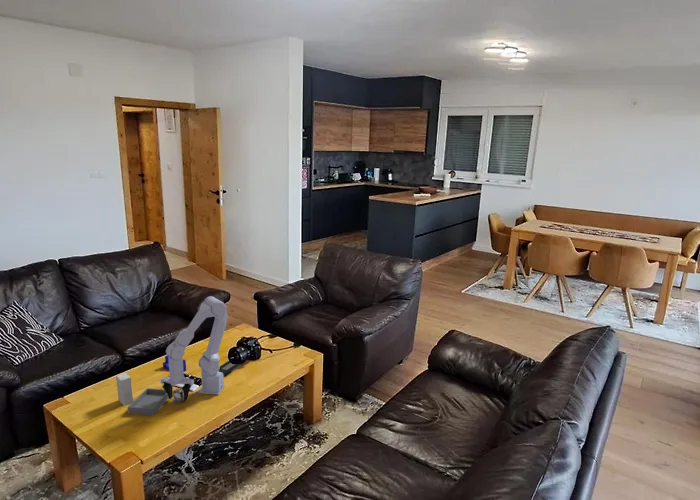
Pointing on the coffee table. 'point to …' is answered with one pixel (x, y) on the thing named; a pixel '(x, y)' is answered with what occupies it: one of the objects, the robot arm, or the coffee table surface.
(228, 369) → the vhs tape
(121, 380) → the skincare box
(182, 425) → the coffee table surface
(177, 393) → the cell
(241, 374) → the coffee table surface
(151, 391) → the grey tray
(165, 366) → the cable clip
